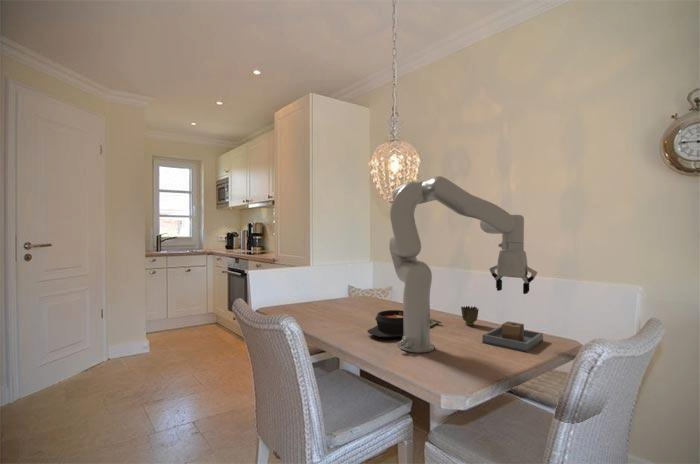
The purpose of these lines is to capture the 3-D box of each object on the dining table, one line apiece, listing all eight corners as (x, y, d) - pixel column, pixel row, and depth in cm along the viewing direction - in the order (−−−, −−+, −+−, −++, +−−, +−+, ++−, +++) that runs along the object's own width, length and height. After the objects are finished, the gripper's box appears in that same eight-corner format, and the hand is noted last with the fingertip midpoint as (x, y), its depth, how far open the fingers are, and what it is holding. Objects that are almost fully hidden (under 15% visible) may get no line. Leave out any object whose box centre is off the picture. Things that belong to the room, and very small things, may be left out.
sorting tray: (527, 352, 127) (527, 343, 127) (482, 342, 138) (482, 334, 138) (542, 341, 140) (542, 333, 140) (500, 333, 151) (500, 325, 151)
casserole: (402, 324, 165) (402, 306, 165) (433, 334, 150) (433, 313, 150) (357, 334, 150) (357, 313, 150) (387, 345, 135) (387, 322, 135)
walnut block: (518, 343, 135) (518, 326, 135) (501, 339, 139) (501, 324, 139) (523, 339, 139) (523, 323, 139) (507, 336, 143) (507, 321, 143)
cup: (480, 327, 160) (480, 309, 160) (464, 327, 160) (464, 309, 160) (475, 323, 167) (475, 305, 167) (459, 323, 167) (459, 305, 167)
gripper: (486, 246, 142) (485, 290, 142) (533, 248, 130) (533, 296, 130) (494, 246, 147) (493, 288, 148) (540, 247, 136) (539, 293, 136)
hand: (512, 291), depth 139 cm, fingers open, 9 cm apart
